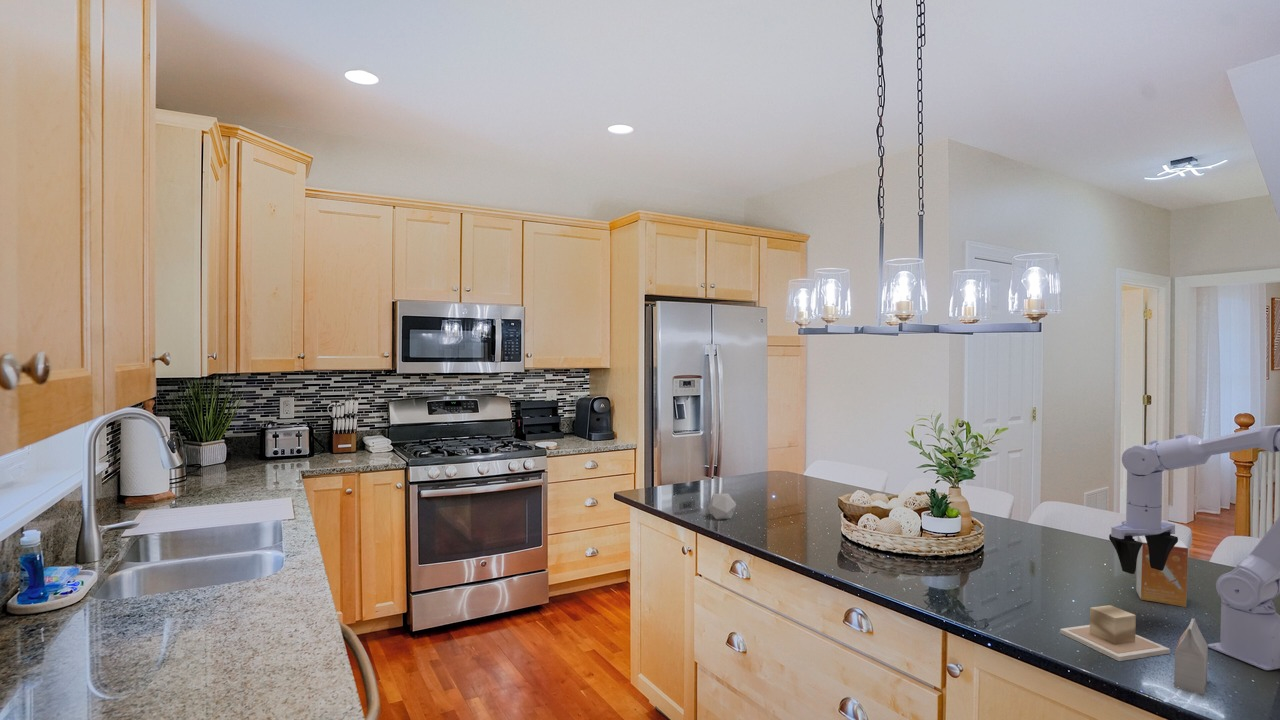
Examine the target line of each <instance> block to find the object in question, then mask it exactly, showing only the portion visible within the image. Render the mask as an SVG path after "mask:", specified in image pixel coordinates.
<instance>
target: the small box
mask: <svg viewBox="0 0 1280 720" xmlns="http://www.w3.org/2000/svg"><path fill="white" fill-rule="evenodd" d="M1137 541H1138V542H1142V543H1143V544H1142V546H1141V548H1140V550H1139V553H1138V557H1137V564H1136V581H1135V582H1136V585H1135V587H1136V589H1135V590H1136V593H1137V595H1138V597H1139V598H1140V600H1142V601H1147V602H1149V601H1150V602H1154V603H1155V602H1156V603H1161V604H1165V605H1171V606H1172V605H1173V606H1178V607H1183V608H1186V607H1187V600H1188V599H1187V598H1188V597H1187V595H1188V594H1187V593H1188V564H1189V563H1188V560H1189V547H1188V546H1187V545H1186V544H1185V543H1184V542H1183V540H1179V539H1178V542H1177V543H1176V544H1175V546H1174V547H1173V548H1172V550H1171V552H1170V553H1169V556H1168V558H1167V561H1166V564H1165V567H1164V569H1163V571H1160V570H1157V569H1154V568H1151V567H1150V562H1149V549H1148V544H1147V541H1146V538H1145V536H1137Z"/></svg>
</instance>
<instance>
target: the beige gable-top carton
mask: <svg viewBox="0 0 1280 720" xmlns="http://www.w3.org/2000/svg"><path fill="white" fill-rule="evenodd" d="M1208 648H1209V647H1208V643H1207V641H1206V640H1205V637H1204V636H1203V634H1202V633H1201V630H1200V628H1199V626H1198V624H1197V620H1196V618H1193V617H1192V618H1191V620H1190V623H1189V624H1188V625H1187V627H1186V629H1185V630H1184V631H1183V633H1182V634H1181V635H1180V637H1179V638H1178V642H1177V645H1176V647H1175V651H1174V673H1173V674H1174V678H1173V679H1174V684H1173V687H1174V688H1177V687H1179V688H1178V689H1180V688H1181V690H1184V689H1185V690H1184V691H1187V692H1192V693H1195V694H1197V695H1198V694H1199V695H1201V696H1204V695H1205V691H1206V686H1207V681H1208V652H1209V651H1208V650H1209V649H1208Z"/></svg>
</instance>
